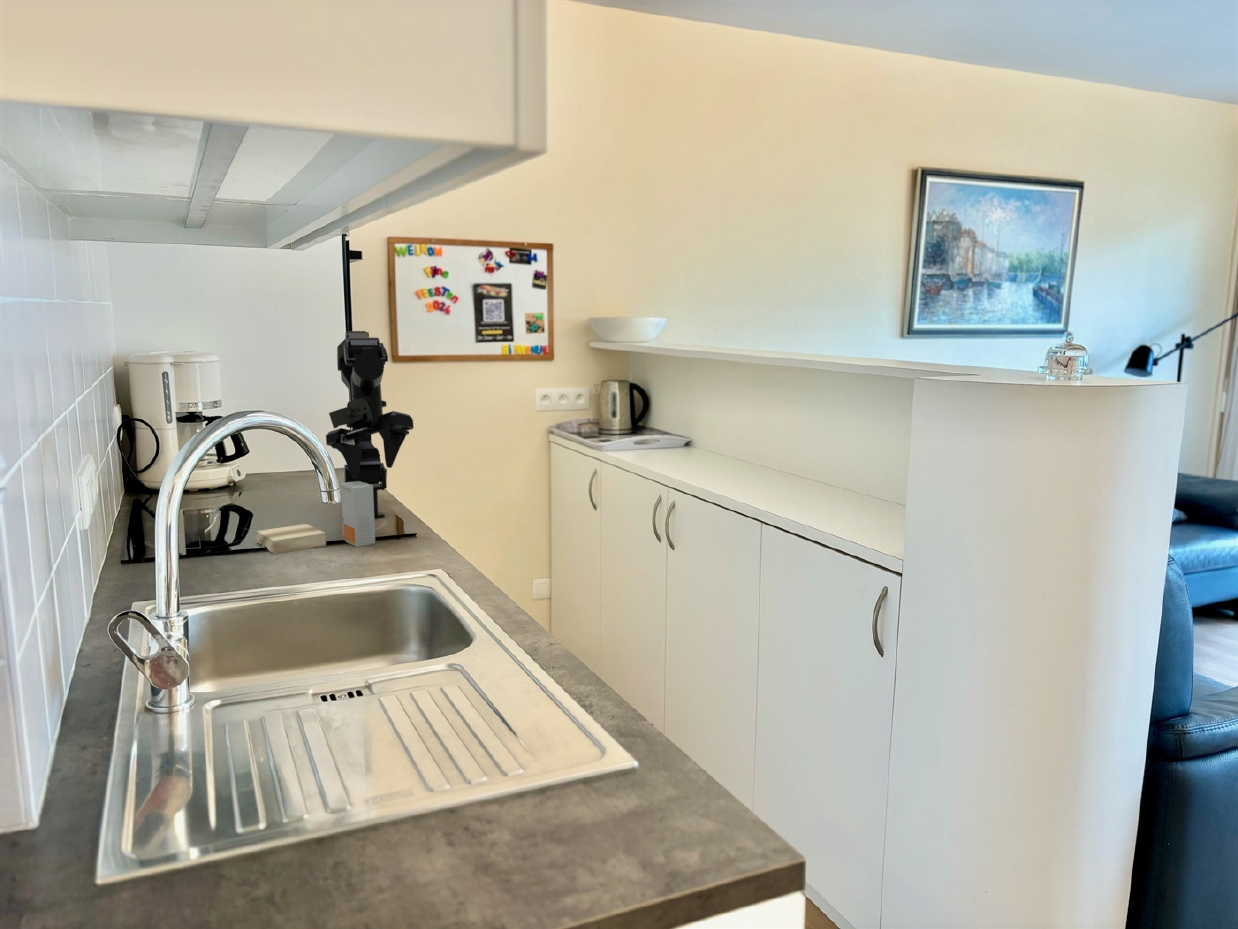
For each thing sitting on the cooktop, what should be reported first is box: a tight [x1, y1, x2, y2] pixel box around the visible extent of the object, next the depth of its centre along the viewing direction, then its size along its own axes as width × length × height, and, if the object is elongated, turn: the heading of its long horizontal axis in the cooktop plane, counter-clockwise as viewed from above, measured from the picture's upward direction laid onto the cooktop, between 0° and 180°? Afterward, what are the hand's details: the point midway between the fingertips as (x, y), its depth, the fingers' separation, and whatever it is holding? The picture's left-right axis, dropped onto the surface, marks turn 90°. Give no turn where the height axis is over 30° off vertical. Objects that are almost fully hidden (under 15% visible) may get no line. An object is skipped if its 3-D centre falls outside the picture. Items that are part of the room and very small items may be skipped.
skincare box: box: [340, 481, 376, 548], centre depth 179 cm, size 6×4×12 cm
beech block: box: [255, 523, 327, 555], centre depth 178 cm, size 10×10×3 cm
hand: (372, 472), depth 178 cm, fingers open, 9 cm apart
